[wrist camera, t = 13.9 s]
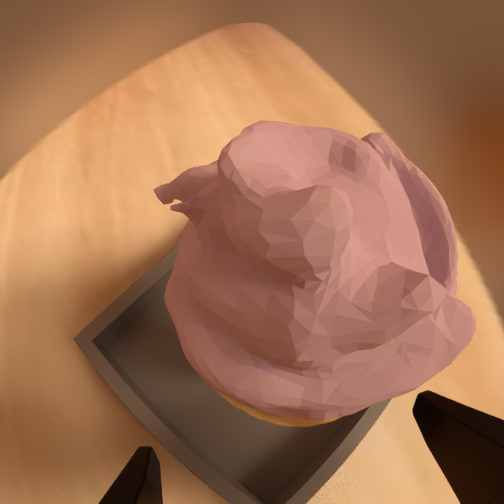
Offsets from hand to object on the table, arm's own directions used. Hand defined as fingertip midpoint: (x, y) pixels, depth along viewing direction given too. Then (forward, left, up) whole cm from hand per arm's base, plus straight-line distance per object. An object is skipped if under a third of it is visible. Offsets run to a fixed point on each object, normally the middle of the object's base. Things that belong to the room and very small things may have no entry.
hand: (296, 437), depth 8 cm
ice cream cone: (+3, +3, -7) cm, 8 cm away
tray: (+3, +3, -7) cm, 8 cm away
